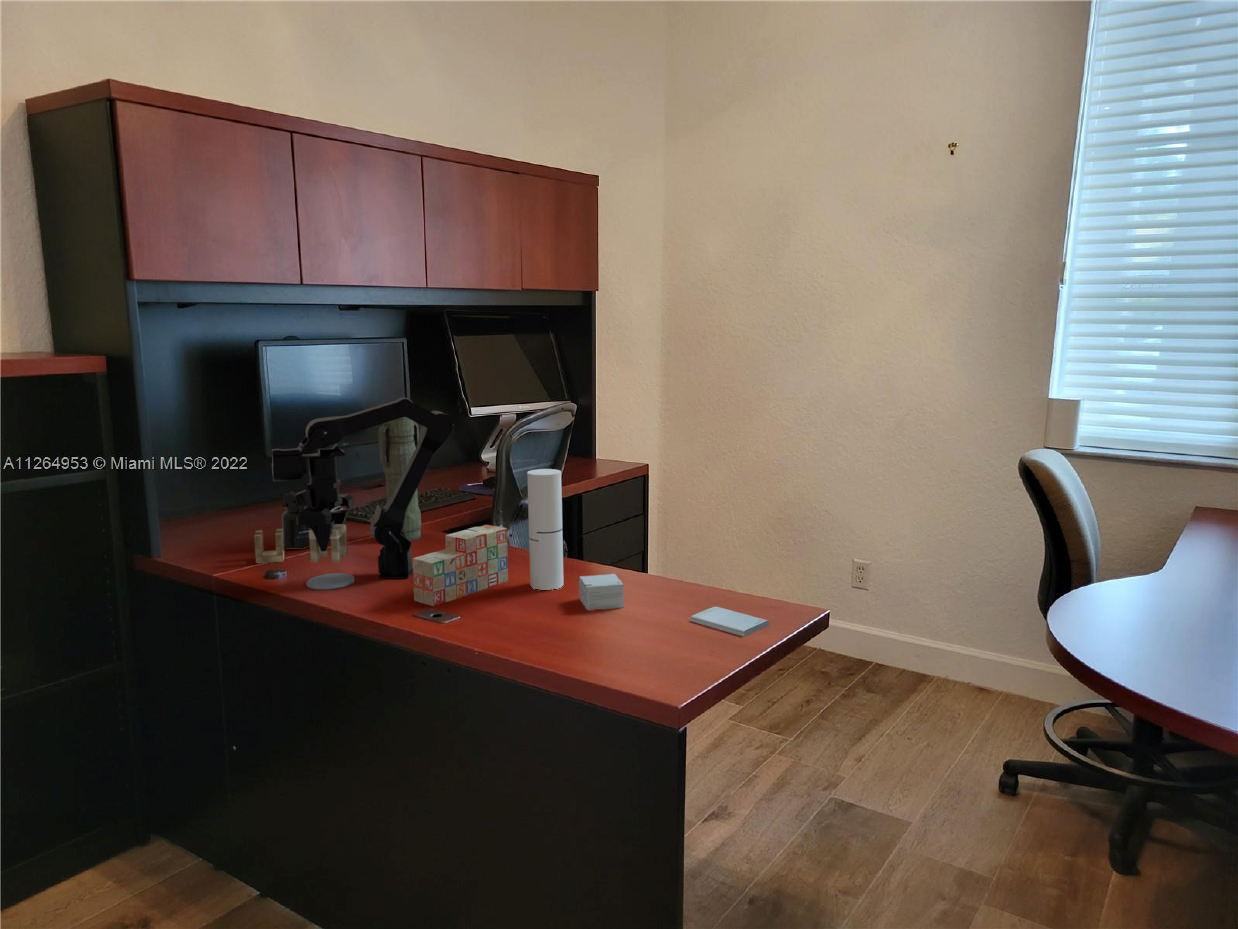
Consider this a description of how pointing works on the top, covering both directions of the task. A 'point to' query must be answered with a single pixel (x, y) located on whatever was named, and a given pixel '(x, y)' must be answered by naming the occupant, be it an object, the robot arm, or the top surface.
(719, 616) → the hard drive
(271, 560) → the upturned stool
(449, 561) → the stack of blocks
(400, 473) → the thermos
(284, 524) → the supplement bottle
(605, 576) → the stack of note paper
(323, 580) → the pad
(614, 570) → the top surface
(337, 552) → the wooden stool
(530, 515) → the cylindrical container
